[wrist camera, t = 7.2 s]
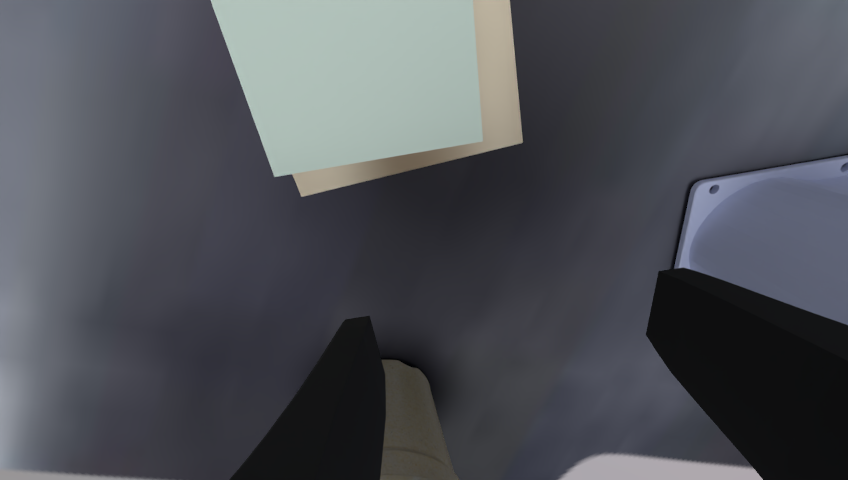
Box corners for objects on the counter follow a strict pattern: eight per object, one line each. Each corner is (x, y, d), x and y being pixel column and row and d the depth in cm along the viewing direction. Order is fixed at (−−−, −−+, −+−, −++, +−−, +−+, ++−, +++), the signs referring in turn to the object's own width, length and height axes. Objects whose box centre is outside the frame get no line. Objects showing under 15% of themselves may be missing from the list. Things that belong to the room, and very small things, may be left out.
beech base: (466, -116, 13) (492, -187, 9) (496, 126, 17) (523, 142, 13) (238, -53, 13) (179, -98, 10) (321, 170, 17) (301, 196, 14)
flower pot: (398, 313, 21) (399, 454, 14) (477, 393, 25) (514, 539, 17) (288, 383, 23) (234, 540, 16) (377, 448, 27) (369, 599, 19)
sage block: (429, -43, 11) (461, -156, 5) (446, 110, 13) (483, 141, 7) (286, -18, 11) (173, -105, 5) (326, 130, 13) (274, 176, 7)
